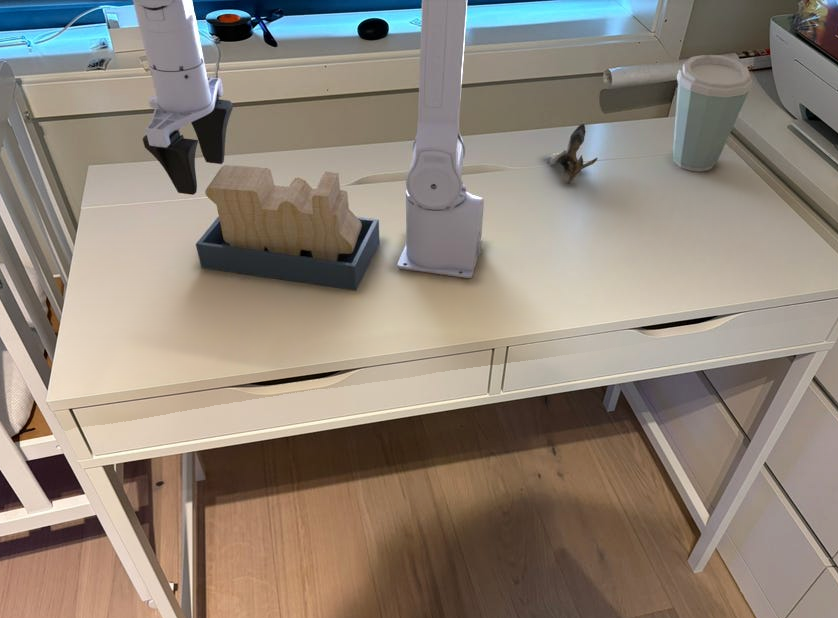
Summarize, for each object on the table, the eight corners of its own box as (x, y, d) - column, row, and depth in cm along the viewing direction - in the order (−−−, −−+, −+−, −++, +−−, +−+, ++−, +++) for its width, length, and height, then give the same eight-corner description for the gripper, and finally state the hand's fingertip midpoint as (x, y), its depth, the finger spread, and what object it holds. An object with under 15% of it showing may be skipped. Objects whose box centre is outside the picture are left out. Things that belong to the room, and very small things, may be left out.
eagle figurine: (607, 177, 107) (594, 139, 113) (590, 144, 102) (577, 106, 107) (560, 200, 110) (549, 162, 115) (541, 169, 105) (530, 130, 110)
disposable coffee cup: (737, 178, 111) (769, 80, 101) (669, 180, 110) (695, 81, 100) (711, 146, 119) (738, 52, 109) (647, 147, 118) (669, 53, 107)
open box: (379, 242, 95) (378, 219, 92) (356, 290, 87) (354, 266, 85) (236, 222, 97) (231, 199, 95) (201, 268, 89) (195, 243, 87)
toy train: (354, 270, 89) (349, 197, 82) (219, 258, 90) (203, 185, 83) (362, 245, 93) (358, 174, 86) (233, 234, 94) (219, 163, 87)
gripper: (173, 35, 84) (197, 146, 93) (105, 83, 73) (140, 202, 82) (230, 41, 83) (249, 152, 92) (171, 91, 72) (198, 210, 81)
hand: (201, 176), depth 87 cm, fingers open, 7 cm apart
